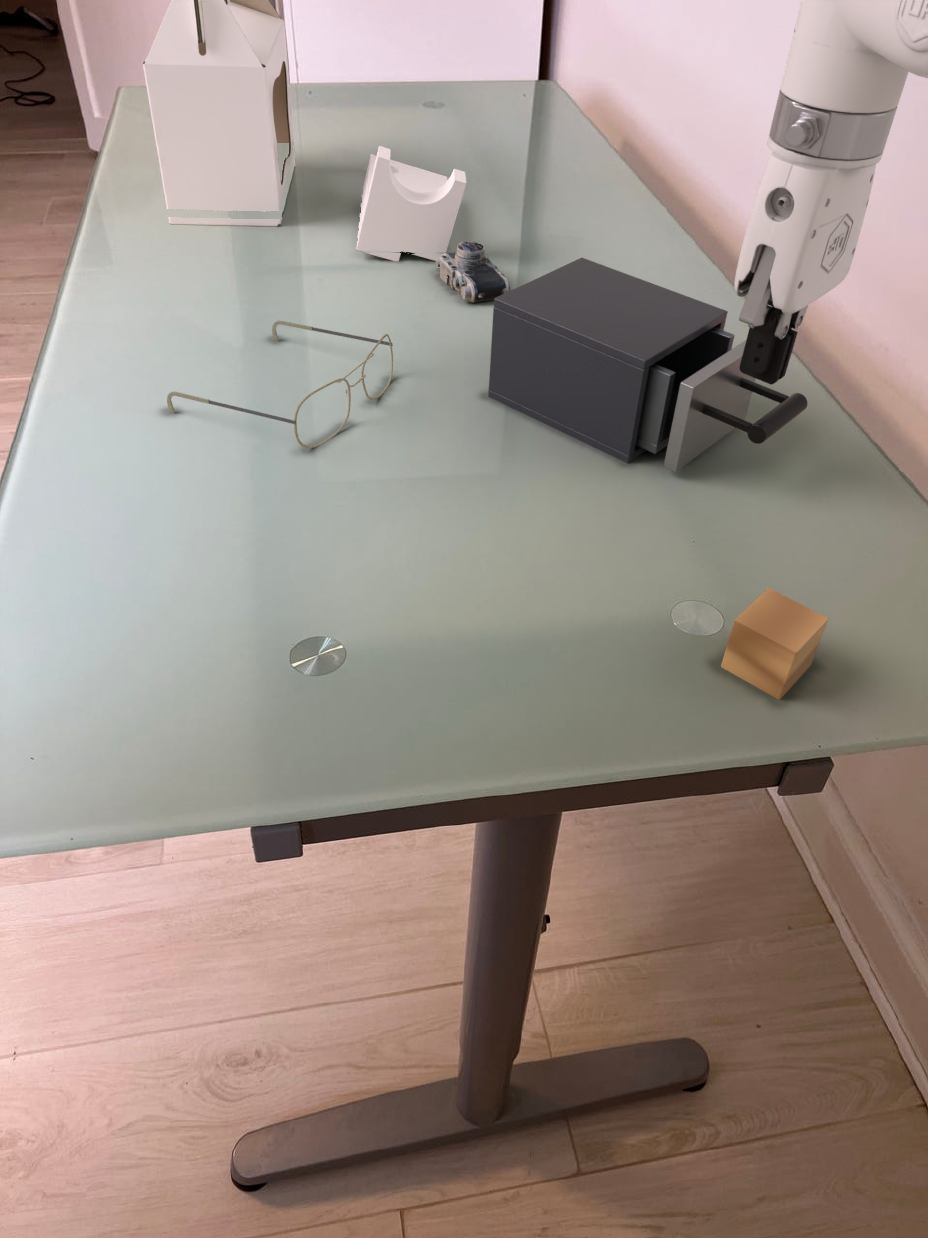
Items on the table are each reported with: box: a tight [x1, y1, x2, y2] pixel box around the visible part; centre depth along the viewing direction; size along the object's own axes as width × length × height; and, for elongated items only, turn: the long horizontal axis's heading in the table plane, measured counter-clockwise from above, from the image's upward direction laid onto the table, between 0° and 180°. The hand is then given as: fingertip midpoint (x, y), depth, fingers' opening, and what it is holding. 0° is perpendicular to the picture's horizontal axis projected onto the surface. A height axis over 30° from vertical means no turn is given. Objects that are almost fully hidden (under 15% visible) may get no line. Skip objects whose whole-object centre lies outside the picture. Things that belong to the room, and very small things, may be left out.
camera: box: [434, 240, 511, 303], centre depth 107 cm, size 5×10×4 cm, turn 22°
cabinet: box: [488, 257, 728, 464], centre depth 88 cm, size 16×13×10 cm
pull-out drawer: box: [635, 327, 808, 473], centre depth 84 cm, size 20×11×8 cm, turn 48°
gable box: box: [142, 0, 295, 227], centre depth 117 cm, size 22×13×28 cm, turn 2°
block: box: [720, 587, 830, 701], centre depth 65 cm, size 4×4×4 cm
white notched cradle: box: [356, 145, 467, 262], centre depth 116 cm, size 18×10×10 cm, turn 2°
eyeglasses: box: [166, 320, 394, 449], centre depth 88 cm, size 16×15×5 cm
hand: (761, 374), depth 78 cm, fingers closed
